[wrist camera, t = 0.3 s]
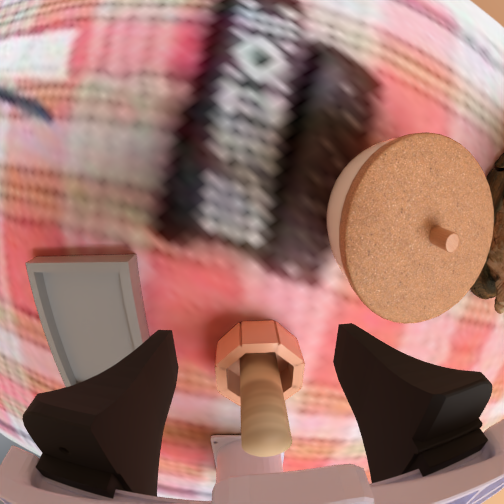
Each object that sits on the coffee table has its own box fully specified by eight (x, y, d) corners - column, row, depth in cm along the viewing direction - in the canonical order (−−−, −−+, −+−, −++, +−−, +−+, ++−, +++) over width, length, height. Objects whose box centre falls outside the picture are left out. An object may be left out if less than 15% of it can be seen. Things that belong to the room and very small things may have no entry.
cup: (294, 380, 25) (299, 404, 22) (220, 383, 25) (219, 408, 22) (298, 319, 23) (307, 340, 20) (215, 321, 23) (212, 344, 20)
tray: (163, 394, 25) (159, 407, 23) (75, 383, 25) (69, 394, 23) (136, 254, 21) (128, 261, 19) (36, 256, 21) (25, 263, 19)
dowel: (275, 371, 24) (290, 454, 15) (240, 372, 24) (242, 457, 15) (276, 342, 23) (294, 427, 14) (239, 344, 23) (240, 430, 14)
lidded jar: (364, 110, 19) (440, 84, 10) (449, 200, 21) (529, 225, 12) (278, 224, 21) (307, 270, 12) (377, 300, 23) (435, 365, 14)
